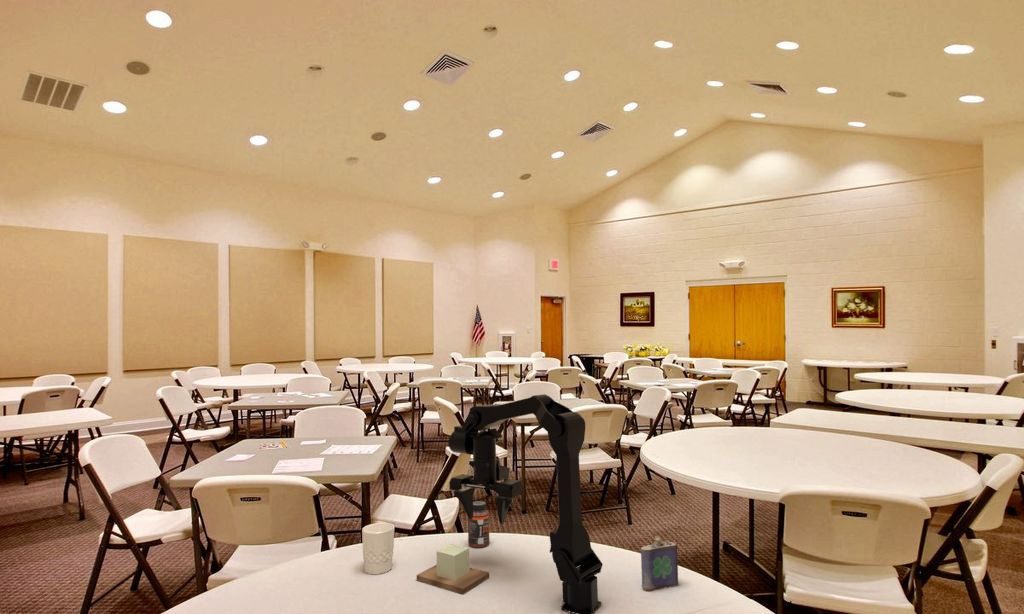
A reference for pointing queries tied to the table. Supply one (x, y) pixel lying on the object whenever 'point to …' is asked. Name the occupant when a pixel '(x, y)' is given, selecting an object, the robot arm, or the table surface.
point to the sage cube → (453, 562)
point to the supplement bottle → (479, 526)
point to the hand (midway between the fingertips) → (486, 521)
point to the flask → (659, 565)
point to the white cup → (378, 547)
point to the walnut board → (456, 586)
